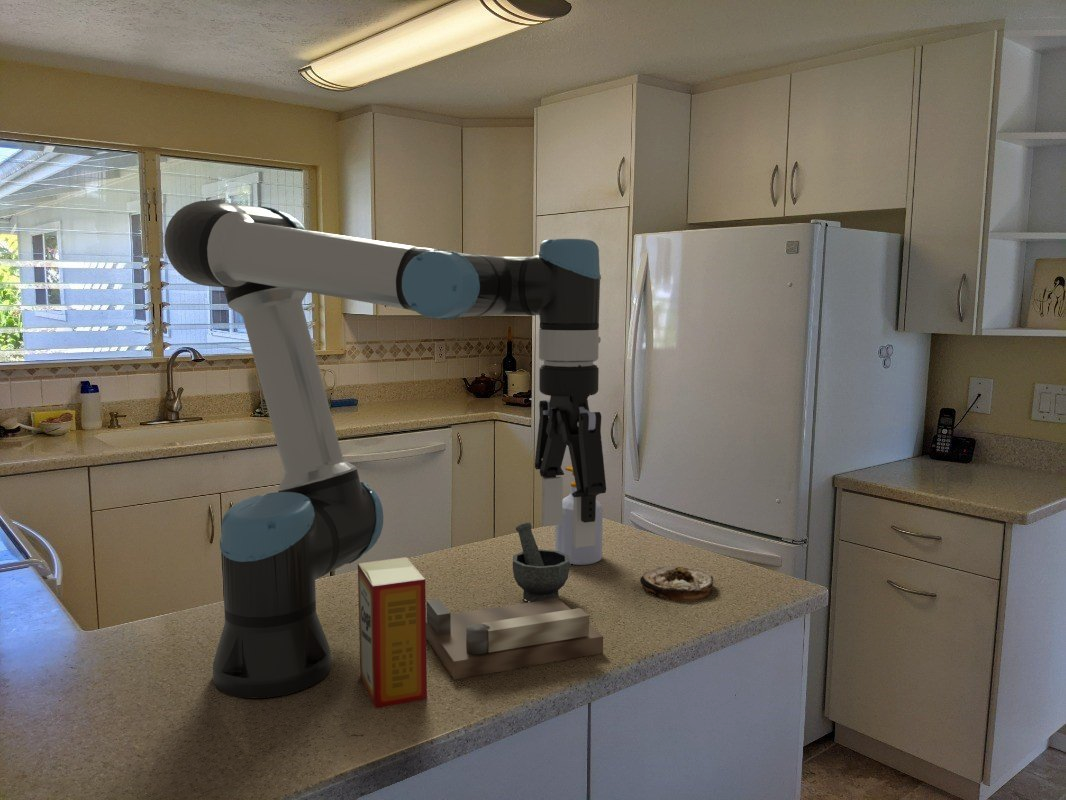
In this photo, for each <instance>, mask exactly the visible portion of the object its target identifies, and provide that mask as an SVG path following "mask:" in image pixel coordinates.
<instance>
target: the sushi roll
mask: <svg viewBox="0 0 1066 800" xmlns="http://www.w3.org/2000/svg"><path fill="white" fill-rule="evenodd" d="M640 584H641V585H642V586H641V588H642V590H643V589H645V590H644V591H646V590H647V591H648V592H647V591H646V592H647V593H648V594H649V593H651V594H650V595H652V594H653V595H652V596H655V595H656V597H659V596H662V597H661V598H663V597H665V598H664V599H666V600H669V599H670V600H669V601H679V600H680V601H681V602H682V601H683V600H689V601H694V600H693V599H695V600H700V599H703V598H702V597H704V596H705V597H709V598H710V596H709V595H710V594H711V593H710V591H711V592H712V589H711V587H713V586H714V577H713V575H710V574H709V573H707V572H706V571H704V570H700V569H696V568H695V569H694V568H690V567H686V566H675V565H667V566H660V567H657V568H654V569H651V570H648V571H646V572H644V573H643V574H642V576H641V577H640ZM708 594H709V595H708ZM706 595H707V596H706ZM668 598H669V599H668ZM699 598H700V599H699ZM680 601H679V602H680ZM683 602H684V601H683Z"/></svg>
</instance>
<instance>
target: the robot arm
mask: <svg viewBox="0 0 1066 800" xmlns="http://www.w3.org/2000/svg"><path fill="white" fill-rule="evenodd" d="M164 248H165V253H166V255H167V258H168V261H169V262H170V264H171V266H172V267H173V268H174V269H175V271H176V272H177V273H178V274H179V275H180V276H182V277H183V278H184V279H186V280H188V281H190V282H191V283H194V284H197V285H201V286H205V287H212V288H213V287H214V288H215V287H216V288H223V291H224V295H225V296H224V297H225V299H226V302H227V306H228V308H229V309H231V310H232V311H233V312H234V311H235V312H236V313H237V314H239V315H240V316H241V317H242V319H243V322H244V328H245V330H246V335H247V338H248V341H249V345H250V350H251V352H252V353H251V354H252V357H253V360H254V361H253V362H254V364H255V367H256V371H257V375H258V380H259V382H260V383H259V384H260V386H261V390H262V394H263V398H264V402H265V405H266V409H267V412H268V416H269V419H270V423H271V426H272V427H271V428H272V431H273V435H274V438H275V442H276V445H277V449H278V454H279V457H280V460H281V464H282V468H283V472H284V474H283V475H284V476H283V478H282V480H281V481H280V483H279V486H278V487H277V490H278V491H277V492H269V493H266V494H265V495H256V496H252V497H250V498H245V499H243V500H241V501H239V502H236V503H235V504H234V505H232V506H231V507H229V508H228V509H227V511H226V512H225V513H224V515H223V517H222V520H221V527H220V528H221V529H220V530H221V531H220V532H221V533H220V534H221V535H220V539H219V549H220V554H221V556H220V557H221V558H220V559H221V571H222V573H221V574H222V575H221V576H222V588H223V589H222V590H223V606H224V607H223V608H224V623H223V624H224V625H223V627H222V631H221V634H220V638H219V642H218V645H217V648H216V652H215V654H214V655H215V656H214V658H213V662H212V677H213V679H212V680H213V684H214V686H215V687H216V689H217V690H218V691H220V692H221V693H223V694H226V695H229V696H232V697H236V698H244V699H267V698H273V697H274V698H276V697H281V696H286V695H291V694H295V693H297V692H299V691H303V690H305V689H308V688H310V687H312V686H314V685H317V683H319V682H321V681H322V680H323V679H324V678H326V676H327V675H329V673H330V671H331V669H332V656H331V647H330V645H329V642H328V640H327V637H326V633H325V631H324V629H323V626H322V624H321V621H320V618H319V616H318V613H317V600H316V598H317V596H316V595H317V594H316V592H317V591H316V580H318V579H320V578H322V577H324V576H325V575H328V574H329V573H331V572H333V571H335V570H338V569H340V568H341V567H344V566H345V565H348V564H351V563H354V562H356V561H357V560H359V559H361V557H362V556H364V554H367V552H369V551H370V550H371V549H372V548H373V547H374V546H375V544H377V542H378V541H379V538H380V536H381V534H382V530H383V528H384V519H385V518H384V509H383V508H384V507H383V505H382V501H381V498H380V496H379V495H378V494H377V492H376V491H375V490H374V489H373V488H370V487H369V484H368V483H366V482H365V481H362V480H360V476H359V472H358V469H357V467H356V465H354V464H352V463H350V462H348V461H347V460H345V459H344V457H343V454H342V450H341V446H340V443H339V438H338V435H337V431H336V426H335V423H334V420H333V415H332V411H331V409H330V405H329V400H328V397H327V394H326V390H325V385H324V382H323V378H322V375H321V371H320V368H319V364H318V359H317V355H316V352H315V348H314V344H313V341H312V336H311V334H310V330H309V326H308V321H307V319H306V314H305V311H304V306H303V301H304V299H305V298H306V296H307V294H308V293H312V294H317V295H323V296H328V297H334V298H340V299H345V300H352V301H358V302H361V303H367V304H368V303H369V304H375V305H378V306H379V305H380V306H386V307H391V308H397V309H403V310H408V311H413V312H416V313H417V314H420V315H421V316H423V317H427V318H430V319H431V318H432V319H438V320H452V319H455V318H456V319H457V318H465V317H487V316H488V317H489V316H539V317H538V318H539V330H538V333H539V334H538V358H539V360H540V361H543V364H541V365H540V367H539V374H538V375H539V377H538V378H539V379H538V380H539V387H538V388H539V392H540V393H541V394H543V395H545V396H550V398H549V399H548V400H547V399H545V400H539V403H538V404H539V405H538V407H539V421H538V431H537V439H536V448H535V457H534V458H535V459H534V468H535V470H539V475H540V477H541V526H542V527H552V526H554V527H555V525H562V500H563V498H564V497H563V494H564V493H563V491H564V489H563V488H564V487H563V484H564V482H563V480H564V479H563V477H562V476H564V475H565V472H564V470H563V469H562V465H563V461H564V456H565V453H566V449H567V447H568V451H569V457H570V462H571V466H572V467H573V472H574V476H573V477H574V481H575V483H576V488H577V491H575V492H574V493H572V495H573V497H574V521H573V546H574V547H575V548H578V547H586V546H594V545H595V540H596V500H597V496H598V495H600V494H606V492H607V482H606V473H605V463H604V454H603V453H604V451H603V442H602V431H601V430H602V429H601V427H602V413H601V412H600V411H590V407H589V400H588V398H589V397H590V396H595V395H596V394H597V393H598V392H599V370H600V369H599V367H598V365H597V364H594V362H596V361H597V360H599V344H600V343H601V341H602V339H601V336H600V335H599V334H600V333H599V330H600V323H599V322H600V294H601V293H600V292H601V279H602V275H601V273H600V271H601V269H600V249H599V246H598V244H597V243H596V242H595V241H593V240H591V239H586V238H554V239H545V240H543V241H542V242H541V243H540V246H539V251H538V255H533V256H532V255H529V256H495V255H486V254H485V255H484V254H475V253H464V252H457V251H452V250H446V249H438V248H437V249H436V248H429V247H421V246H420V247H419V246H415V245H408V244H402V243H394V242H390V241H389V242H387V241H381V240H374V239H369V238H361V237H354V236H348V235H341V234H335V233H328V232H323V231H322V232H320V231H314V230H309V229H306V228H305V227H304V225H303V224H302V222H300V221H299V220H298V219H296V218H295V217H294V216H292V215H291V214H289V213H286V212H283V211H280V210H277V209H275V208H272V207H267V206H253V205H252V206H251V205H244V204H239V203H232V202H224V201H220V200H200V201H194V202H191V203H189V204H186V205H185V206H183V207H181V208H180V209H179V210H177V211H176V212H175V213H174V214H173V216H172V217H171V218H170V220H169V221H168V224H167V226H166V228H165V233H164Z"/></svg>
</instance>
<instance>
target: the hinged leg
mask: <svg viewBox="0 0 1066 800" xmlns="http://www.w3.org/2000/svg"><path fill="white" fill-rule="evenodd" d="M570 609H571V608H570ZM589 625H590V615H589V614H588V613H587V612H586V611H584V610H583V609H582V608H581V607H579V608H572V609H571V610H564V611H558V612H551V613H545V614H538V615H531V616H525V617H518V618H512V619H505V620H499V621H492V622H486V623H482V624H472V625H469V626H467V628H466V651H467V652H468V653H471V654H484V653H487V652H495V651H501V650H507V649H513V648H519V647H525V646H531V645H537V644H543V643H549V642H555V641H561V640H567V639H573V638H579V637H585V636H589Z"/></svg>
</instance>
